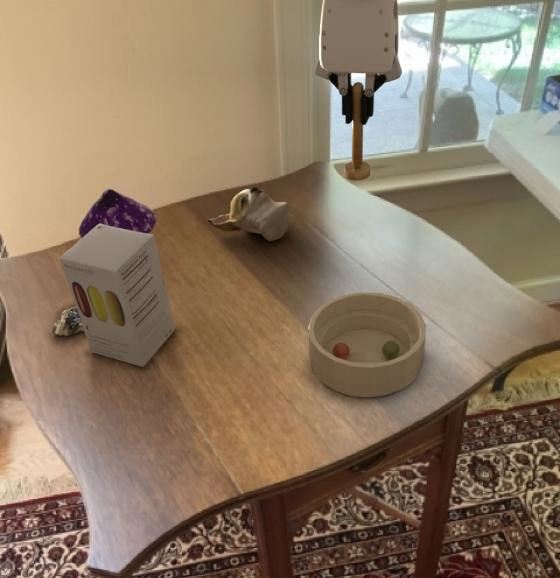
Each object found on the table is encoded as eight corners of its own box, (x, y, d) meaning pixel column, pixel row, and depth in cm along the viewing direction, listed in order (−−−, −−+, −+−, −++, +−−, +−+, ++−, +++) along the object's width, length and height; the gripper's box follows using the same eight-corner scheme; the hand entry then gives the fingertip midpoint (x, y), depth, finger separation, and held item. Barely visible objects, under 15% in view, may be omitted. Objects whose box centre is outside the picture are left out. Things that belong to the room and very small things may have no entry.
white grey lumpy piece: (55, 344, 99) (51, 334, 97) (48, 313, 104) (44, 304, 103) (99, 331, 100) (96, 321, 99) (90, 302, 106) (87, 292, 104)
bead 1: (353, 357, 91) (353, 344, 90) (341, 366, 90) (341, 353, 89) (340, 349, 93) (340, 336, 91) (329, 358, 92) (328, 345, 90)
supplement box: (90, 353, 97) (55, 257, 85) (124, 315, 103) (96, 221, 91) (144, 368, 93) (116, 271, 82) (177, 329, 99) (155, 232, 88)
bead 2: (402, 355, 91) (403, 342, 89) (391, 364, 90) (392, 351, 88) (389, 348, 92) (390, 335, 91) (378, 356, 91) (378, 343, 89)
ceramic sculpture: (265, 209, 105) (198, 191, 113) (272, 256, 111) (207, 236, 119) (304, 182, 111) (237, 166, 119) (308, 227, 117) (244, 210, 125)
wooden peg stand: (375, 173, 101) (378, 81, 91) (357, 183, 99) (358, 90, 89) (356, 165, 103) (357, 74, 93) (338, 175, 101) (337, 83, 91)
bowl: (444, 357, 91) (449, 324, 87) (371, 418, 84) (372, 385, 80) (361, 311, 99) (361, 278, 95) (287, 362, 92) (285, 329, 88)
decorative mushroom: (142, 241, 118) (122, 163, 107) (181, 269, 110) (164, 188, 100) (80, 270, 112) (53, 191, 102) (116, 302, 105) (91, 220, 95)
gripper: (426, -33, 83) (416, 112, 95) (306, -32, 87) (312, 107, 100) (417, -16, 78) (407, 135, 90) (290, -16, 82) (298, 128, 94)
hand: (357, 119), depth 95 cm, fingers closed on wooden peg stand, 1 cm apart
